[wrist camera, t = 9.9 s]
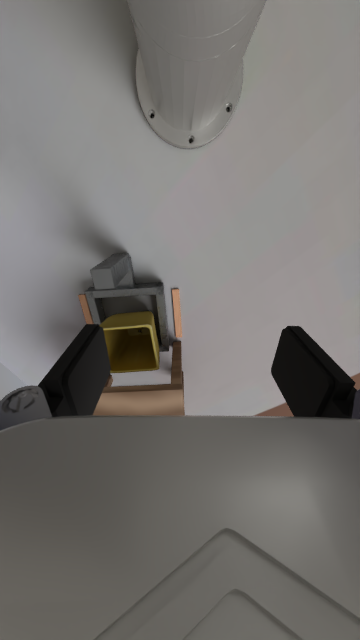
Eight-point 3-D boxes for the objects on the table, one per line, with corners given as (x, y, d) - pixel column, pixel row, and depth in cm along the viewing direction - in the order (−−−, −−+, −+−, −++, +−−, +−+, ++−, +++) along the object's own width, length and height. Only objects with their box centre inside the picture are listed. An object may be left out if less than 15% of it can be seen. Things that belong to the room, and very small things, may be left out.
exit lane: (78, 294, 38) (78, 295, 38) (178, 288, 38) (178, 289, 38) (92, 340, 43) (92, 341, 43) (182, 336, 43) (182, 337, 42)
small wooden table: (94, 345, 44) (62, 394, 32) (181, 340, 43) (182, 389, 31) (105, 381, 48) (81, 436, 36) (184, 377, 48) (185, 432, 36)
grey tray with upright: (82, 256, 35) (48, 272, 26) (160, 251, 35) (152, 265, 26) (106, 347, 43) (87, 383, 34) (169, 343, 43) (166, 379, 34)
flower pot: (121, 344, 43) (107, 374, 35) (110, 305, 39) (92, 329, 31) (163, 340, 43) (159, 370, 35) (157, 300, 39) (151, 324, 31)
